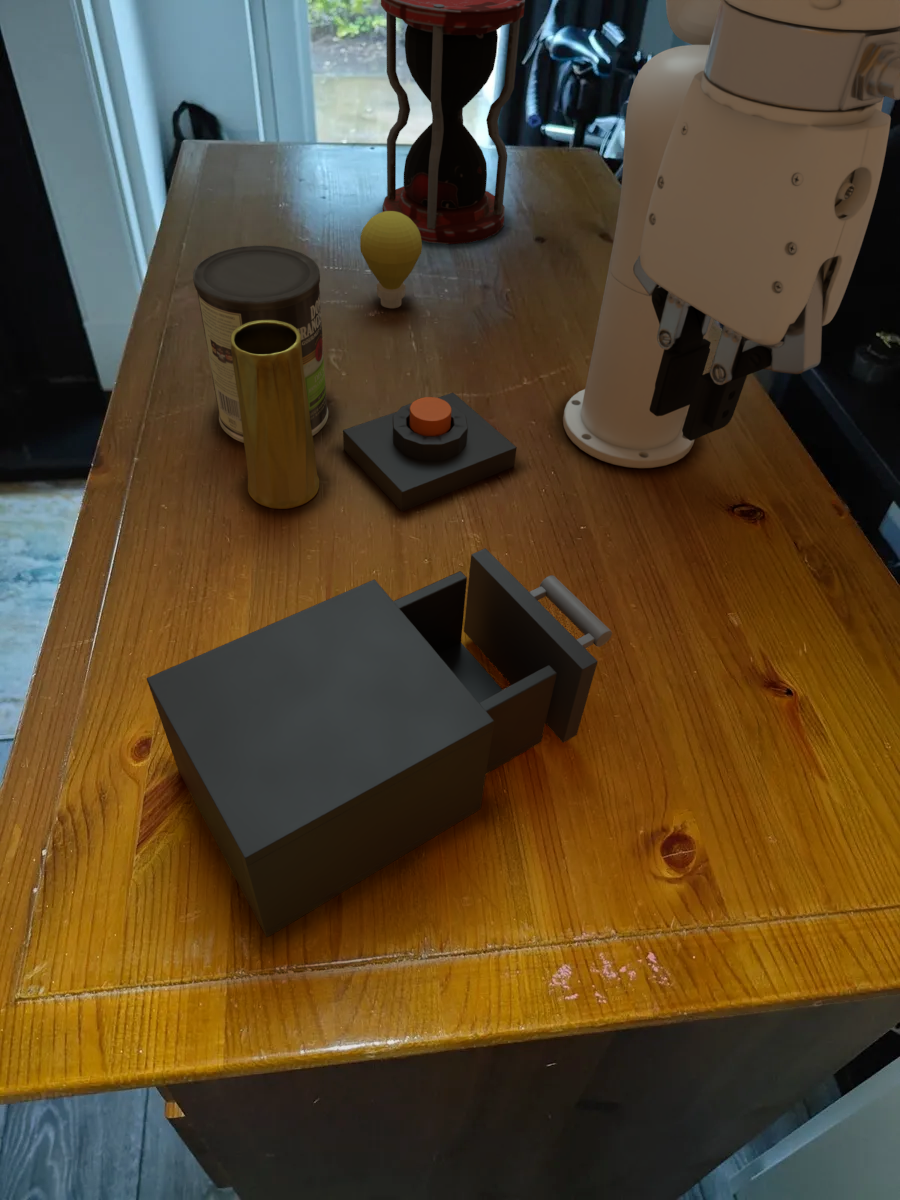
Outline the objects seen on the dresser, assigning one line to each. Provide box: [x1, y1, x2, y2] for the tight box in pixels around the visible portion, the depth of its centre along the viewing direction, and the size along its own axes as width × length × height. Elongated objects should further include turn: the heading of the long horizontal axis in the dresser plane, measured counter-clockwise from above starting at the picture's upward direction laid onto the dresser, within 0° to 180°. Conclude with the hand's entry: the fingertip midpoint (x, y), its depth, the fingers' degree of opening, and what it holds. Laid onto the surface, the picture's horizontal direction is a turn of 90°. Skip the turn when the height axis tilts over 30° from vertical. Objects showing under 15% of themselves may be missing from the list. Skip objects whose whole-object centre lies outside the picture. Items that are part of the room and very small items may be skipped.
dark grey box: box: [146, 579, 494, 938], centre depth 49 cm, size 15×13×10 cm
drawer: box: [393, 548, 613, 775], centre depth 54 cm, size 18×11×8 cm, turn 124°
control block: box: [342, 392, 517, 512], centre depth 75 cm, size 12×10×4 cm
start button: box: [410, 396, 451, 436], centre depth 73 cm, size 4×4×2 cm
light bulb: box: [359, 211, 423, 309], centre depth 92 cm, size 7×7×10 cm
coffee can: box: [192, 244, 329, 444], centre depth 75 cm, size 10×10×14 cm
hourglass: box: [380, 0, 526, 245], centre depth 103 cm, size 16×16×25 cm
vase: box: [231, 320, 320, 510], centre depth 68 cm, size 6×6×14 cm
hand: (687, 417), depth 49 cm, fingers closed
